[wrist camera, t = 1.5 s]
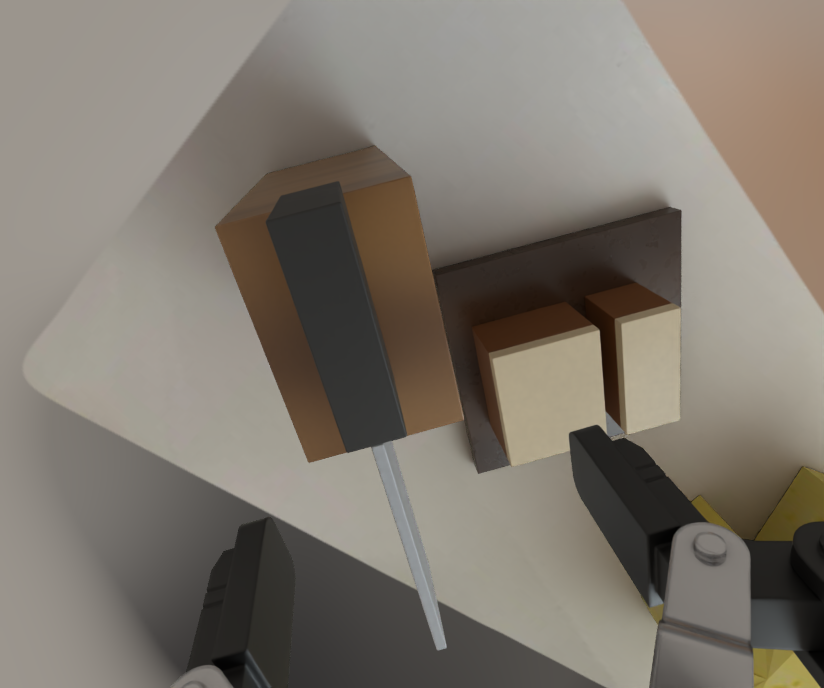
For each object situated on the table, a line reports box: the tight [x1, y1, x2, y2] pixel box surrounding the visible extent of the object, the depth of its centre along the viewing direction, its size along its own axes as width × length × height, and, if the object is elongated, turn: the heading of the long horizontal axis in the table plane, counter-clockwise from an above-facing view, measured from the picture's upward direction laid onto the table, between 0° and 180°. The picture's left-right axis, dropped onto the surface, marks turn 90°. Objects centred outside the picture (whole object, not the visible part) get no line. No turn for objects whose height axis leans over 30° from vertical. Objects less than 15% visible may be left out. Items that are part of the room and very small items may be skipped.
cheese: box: [641, 467, 824, 688], centre depth 54 cm, size 26×26×15 cm
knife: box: [266, 181, 446, 650], centre depth 23 cm, size 22×2×5 cm, turn 13°
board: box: [432, 207, 681, 474], centre depth 45 cm, size 20×20×2 cm
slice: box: [585, 283, 681, 435], centre depth 42 cm, size 10×4×6 cm, turn 13°
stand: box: [215, 146, 464, 463], centre depth 31 cm, size 12×8×18 cm, turn 13°
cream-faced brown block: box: [472, 302, 607, 467], centre depth 42 cm, size 10×8×6 cm
